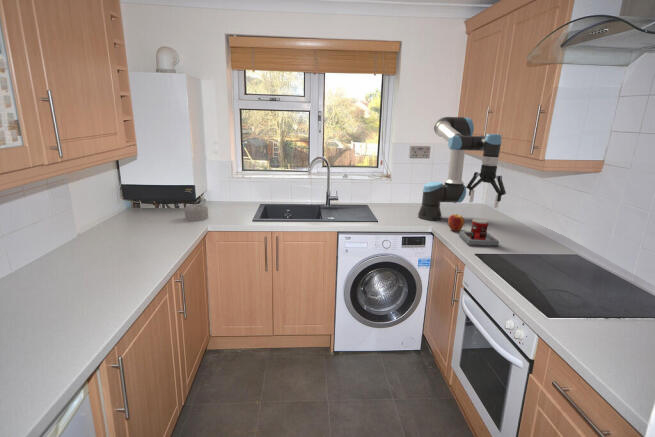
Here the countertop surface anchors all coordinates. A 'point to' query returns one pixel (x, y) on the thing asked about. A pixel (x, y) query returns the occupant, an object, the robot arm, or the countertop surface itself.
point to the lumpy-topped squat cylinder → (196, 213)
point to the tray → (488, 242)
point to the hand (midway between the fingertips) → (483, 204)
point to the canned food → (479, 229)
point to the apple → (456, 222)
